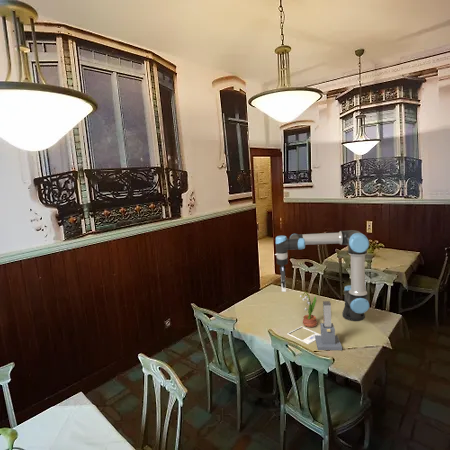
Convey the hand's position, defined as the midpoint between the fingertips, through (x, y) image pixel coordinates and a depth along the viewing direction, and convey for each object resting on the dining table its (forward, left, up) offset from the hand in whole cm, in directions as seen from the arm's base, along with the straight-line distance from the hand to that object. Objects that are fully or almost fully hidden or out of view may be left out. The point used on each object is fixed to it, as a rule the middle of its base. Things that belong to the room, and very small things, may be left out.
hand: (283, 287), depth 223 cm
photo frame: (-12, +14, -29) cm, 34 cm away
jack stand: (-25, +25, -28) cm, 45 cm away
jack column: (-25, +25, -26) cm, 44 cm away
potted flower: (-16, 0, -28) cm, 32 cm away
